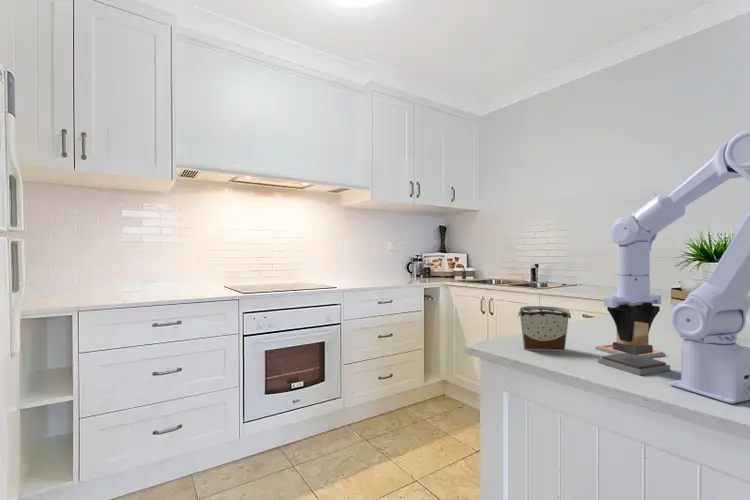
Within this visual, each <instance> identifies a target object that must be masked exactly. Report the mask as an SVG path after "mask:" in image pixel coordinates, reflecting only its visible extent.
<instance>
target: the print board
mask: <svg viewBox="0 0 750 500" xmlns="http://www.w3.org/2000/svg"><path fill="white" fill-rule="evenodd" d="M594 349H595V350H598V351H600V352H601V351H602V352H606V353H609V354H611V355H614V354H621V353H625V352H621V351H618V350H614V349H613V343H610V344H602V345H601V344H600V345H596V346H595V347H594ZM639 356H643V357H647V358H651V359H653V358H655V357H656V358H658V357H663V356H666V353H665V352H664V351H663V350H662V351H661V350H657V349H653V353H648V354H641V355H639Z"/></svg>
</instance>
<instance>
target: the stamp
mask: <svg viewBox="0 0 750 500" xmlns="http://www.w3.org/2000/svg"><path fill="white" fill-rule="evenodd" d="M612 344H613V349H614V350H618V351H621V352H625V353H629V354H633V355H641V354H648V353H653V344H649V334H648V323H642V322H636V321H635V322H634V327H633V337H632V341H631V342H627V341H623V340H620V338H619V334H618V331H617V330H616V341H613V342H612Z"/></svg>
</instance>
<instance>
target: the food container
mask: <svg viewBox="0 0 750 500" xmlns="http://www.w3.org/2000/svg"><path fill="white" fill-rule="evenodd" d="M517 317H518V318H519V317H520V322H521V323H520V326H521V333H522V343H523V350H526V351H548V350H555V352H565V351H566V344H567V343H566V342H567V336H568V335H567V333H568V324H569V319H572V315H571V312H570V310H569V309H567V308H563V307H558V306H557V307H556V306H543V305H532V306H531V305H530V306H529V305H528V306H521V307H520V308H519V310H518V313H517Z"/></svg>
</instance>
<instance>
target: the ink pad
mask: <svg viewBox="0 0 750 500" xmlns="http://www.w3.org/2000/svg"><path fill="white" fill-rule="evenodd" d="M597 359H598V360H597V362H598V364H601V365H605V366H607V367H611V368H615V369H618V370H621V371H624V372H626V373H631V374H634V375H637V376H645V375H649V374H651V375H652V374H655V373H660V372H661V373H662V372H667V371H671V365H670V364H667V363H666V361H661V360H659V359H654V358H647V357H643V356H639V355H633V354H629V353H621V354H608V355H602V356H601V357H598V358H597Z"/></svg>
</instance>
